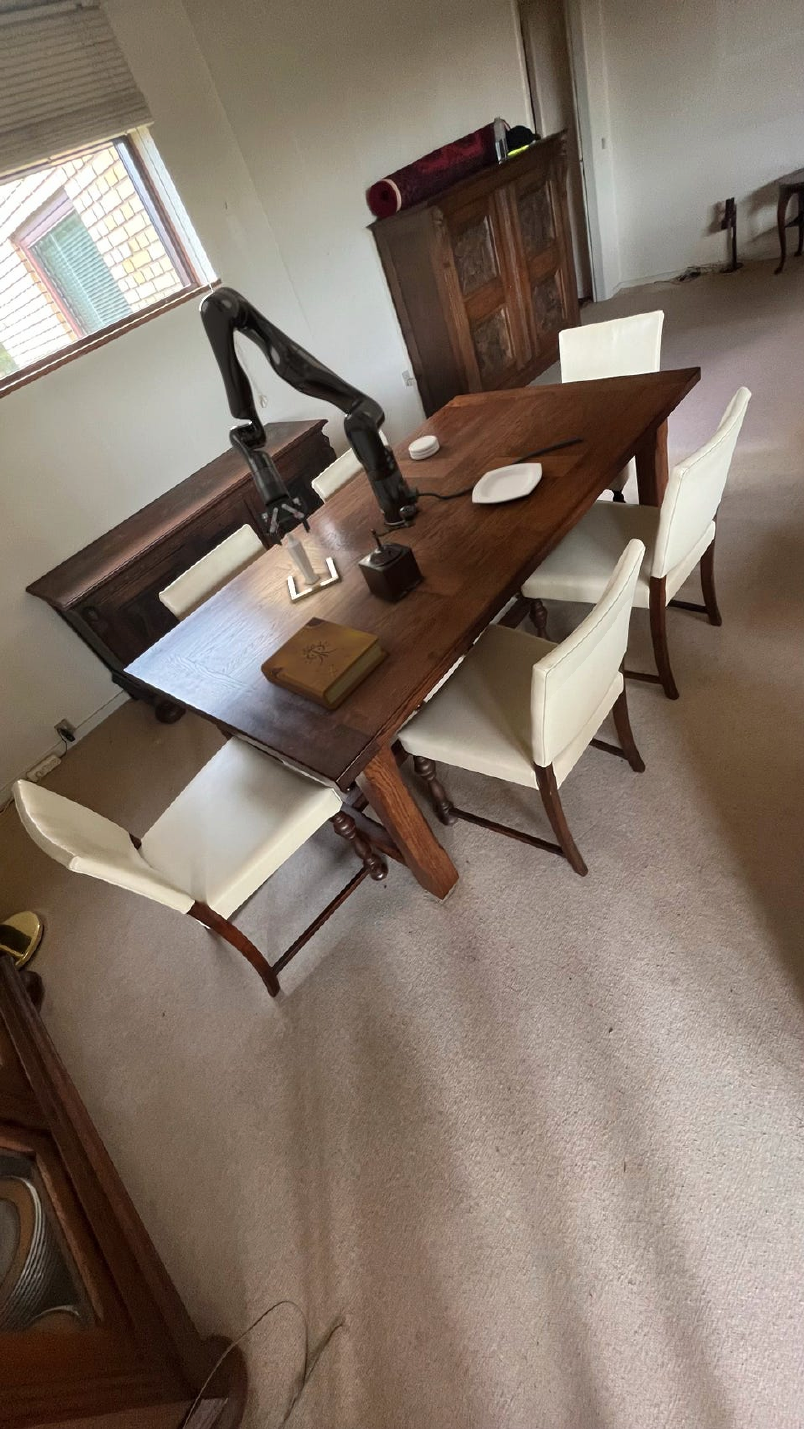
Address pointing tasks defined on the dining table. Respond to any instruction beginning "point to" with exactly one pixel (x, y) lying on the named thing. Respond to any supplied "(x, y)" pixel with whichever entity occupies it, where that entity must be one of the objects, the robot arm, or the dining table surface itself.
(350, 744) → the dining table surface
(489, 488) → the plate
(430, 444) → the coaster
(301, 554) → the white faceted vase
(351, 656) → the diary
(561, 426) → the dining table surface
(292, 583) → the brass frame
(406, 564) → the black coffee grinder
